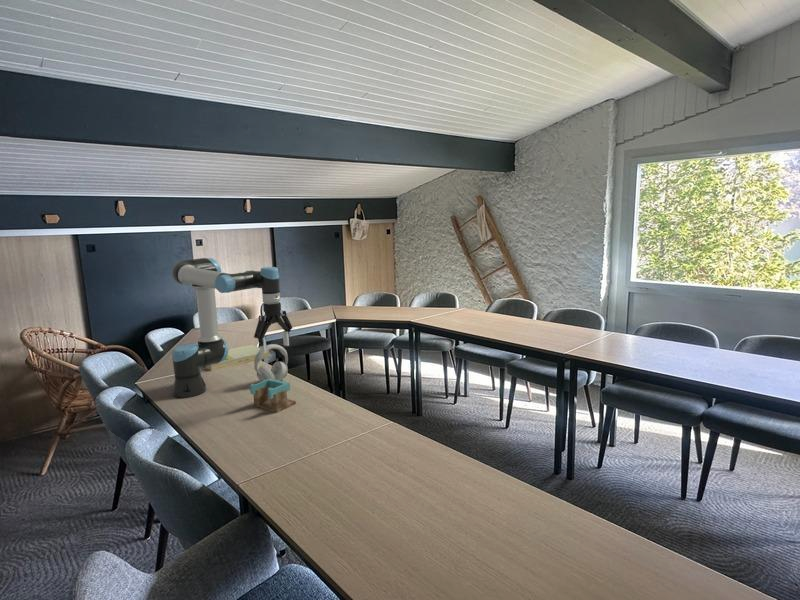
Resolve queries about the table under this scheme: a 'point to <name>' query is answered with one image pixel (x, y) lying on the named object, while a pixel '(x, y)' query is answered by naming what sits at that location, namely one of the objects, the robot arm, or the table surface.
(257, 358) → the headphones
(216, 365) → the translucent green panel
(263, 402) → the stand
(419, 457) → the table surface
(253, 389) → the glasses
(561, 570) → the table surface
